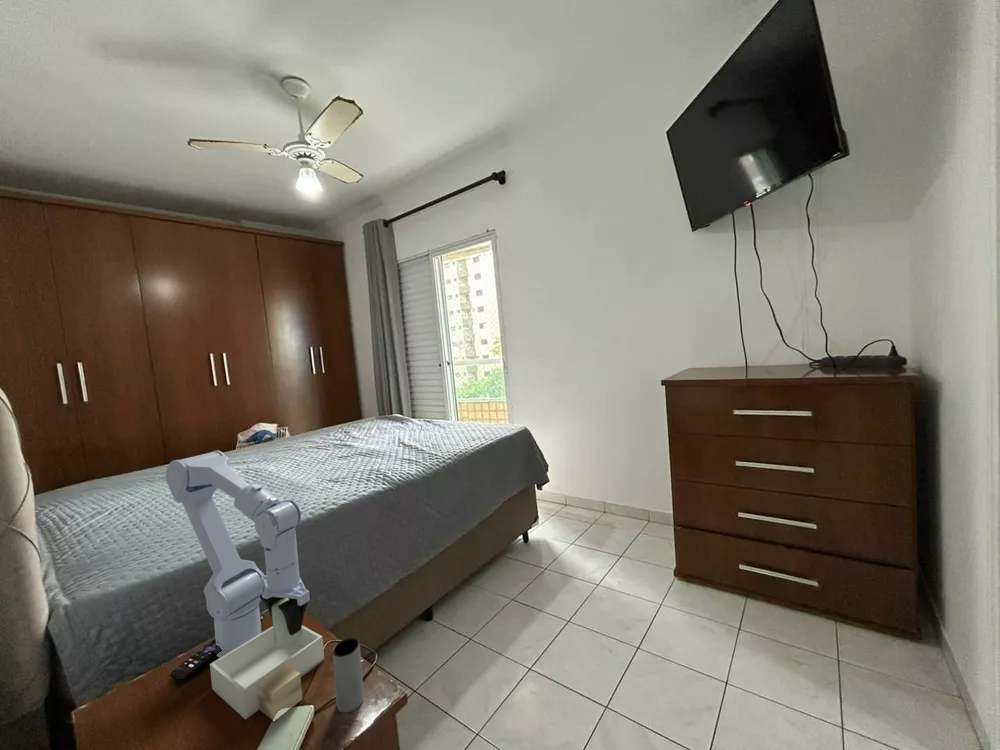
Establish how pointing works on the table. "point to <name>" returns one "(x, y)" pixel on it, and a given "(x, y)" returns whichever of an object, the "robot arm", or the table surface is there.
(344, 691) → the planter
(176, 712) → the table surface
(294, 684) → the cube
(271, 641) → the tote
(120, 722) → the table surface
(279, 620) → the canister
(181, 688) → the table surface
